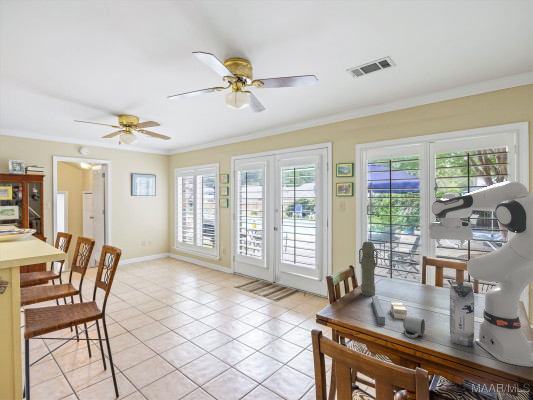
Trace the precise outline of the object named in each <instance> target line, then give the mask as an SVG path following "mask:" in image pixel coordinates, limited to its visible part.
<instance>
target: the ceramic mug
mask: <svg viewBox="0 0 533 400" xmlns="http://www.w3.org/2000/svg"><path fill="white" fill-rule="evenodd" d="M402 321H403V323H402V325H403V329H404V335H405V336H407V337H408V338H410V339H415V338H417V337H418V336H420V337H423V336H424V334H425V331H426V322H425V319H424V318H423V317H417V316H413V315H407V316H405V317H404V319H403V320H402ZM407 332H409V333H412V334H408V333H407Z"/></svg>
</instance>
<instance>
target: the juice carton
mask: <svg viewBox="0 0 533 400" xmlns="http://www.w3.org/2000/svg"><path fill="white" fill-rule="evenodd" d="M449 335H450V338H451V339H450V340H451V343H452V344H458V345H461V346H465V347H469V348H471V347H473V344H474V339H475V293H474V289H473V285H472V283H471V282H468V281H463V282H462V281H460V282H459V281H453V280H452V281H451V282H450V286H449Z"/></svg>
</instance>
